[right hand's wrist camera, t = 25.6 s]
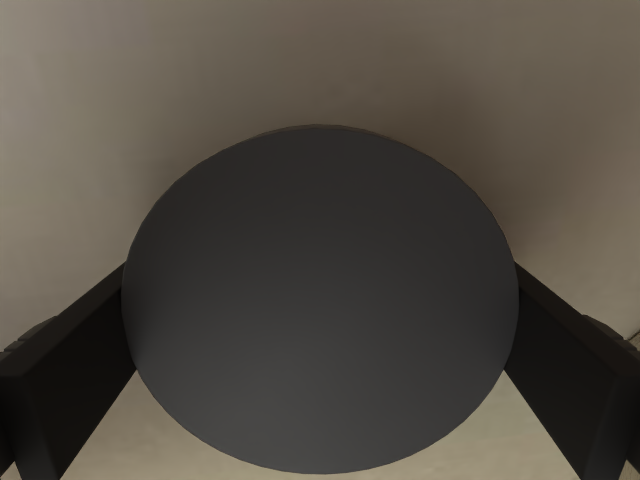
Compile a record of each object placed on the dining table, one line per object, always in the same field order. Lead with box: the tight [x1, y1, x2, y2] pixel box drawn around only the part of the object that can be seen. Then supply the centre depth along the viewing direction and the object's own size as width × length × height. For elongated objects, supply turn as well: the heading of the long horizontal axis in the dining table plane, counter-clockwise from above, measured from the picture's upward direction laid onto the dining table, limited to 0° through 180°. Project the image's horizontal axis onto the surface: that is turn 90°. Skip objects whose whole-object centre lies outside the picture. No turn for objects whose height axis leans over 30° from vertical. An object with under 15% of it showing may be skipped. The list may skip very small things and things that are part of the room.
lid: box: [121, 124, 519, 474], centre depth 11 cm, size 11×11×2 cm
